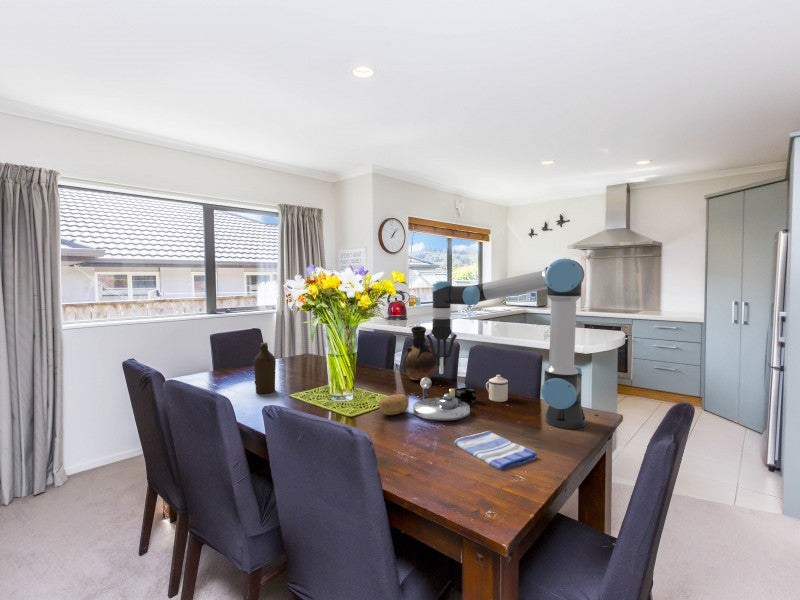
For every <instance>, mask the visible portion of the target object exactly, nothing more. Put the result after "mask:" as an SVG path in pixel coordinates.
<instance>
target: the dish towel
mask: <svg viewBox="0 0 800 600" xmlns="http://www.w3.org/2000/svg"><path fill="white" fill-rule="evenodd" d="M453 445H455V446H456V447H458V448H459V449H461V450H463V451H464V452H466V453H467V454H469V455H471V456H473V457H475V458H477V459H479V460H480V461H482V462H484V463H485V464H487V465H489V466H492V467H493V468H495V469H497V470H500V471H502V470H506V469H509V468H512V467H516V466H519V465H523V464H525V463H528V462H532V461H535V460H537V459H538V458H537V457H536V456H537V455H538V454H537V452H536V451H535V450H533V449H530V448H527V447H525V446H523V445H520V444H518V443H514V442H512V441H510V440H509V439H508V438H504V437H503V436H500V435H498V434H496V433H494V432H493V431H491V430H487V431H483V432H480V433H479V432H478V433H474V434H471V435H466V436H462V437H459V438H456V439H455V440H454V444H453Z"/></svg>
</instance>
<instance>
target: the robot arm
mask: <svg viewBox="0 0 800 600" xmlns="http://www.w3.org/2000/svg"><path fill="white" fill-rule="evenodd" d="M584 279H585V270H584V268H583V265H581V264H580V263H579V262H578V261H576V260H573V259H570V258H558V259H556V260H554V261H552V262H551V263H550V264H549V265H548V266H546V267H544V269H542V270H539V271H535V272H534V271H533V272H529V273H525V274H519V275H516V276H511V277H506V278H501V279H498V280H492V281H488V282H483V283H479V284H478V283H477V284H474V285H459V286H456V285H452V284H451V283H452V282H450V281H447V280H446V281H445V280H443V281H442V280H439V281H438V280H437V281H433V283H432V291H431V293H432V317H433V318H432V329H431V331H430V332H429V333H426V334H425V336H426V338H427V340H428V341H429V344H430V346H431V350H432V355H433V357H436V358H437V367H439V368H438V369H439V371H438V372H439V375H443V374H444V367H446V366H447V358H450V357H451V355H452V352H453V347H454V342H455V340H456V338H457V334H456V333H454V332H453V331H452V329H451V315H452V314H451V308H452V307H451V305H465V306H475V305H478V304H479V303H481V302H487V301H491V300H495V299H496V300H497V299H501V298H505V297H506V298H507V297H511V296H518V295H522V294H528V293H532V292H538V291H543V290H546V297H547V298H549V300H550V326H549V327H550V328H549V353H548V354H549V355H548V356H549V359H548V360H549V361H548V365H547V366H546V367H544V381H543V382H544V383H543V384H542V387H541V395H542V398H543V400H544V402H545V403H546V404H547V405H548V406H547V409H546V412H545V413H544V414H545V415H544V421H545V422H546V423H547V424H548V425H550V426H552V427H555V428H560V429H566V430H567V429H568V430H577V428H578V429H582V428H584V427H585V426H586V425H585V424H587V423H586V416H585V412H584V410H583V406H582V386H583V385H582V384H583V383H582V382H583V381H582V378H583V372H582V368H581V367H579V366H576V365H575V355H576V353H575V348H576V347H575V346H576V324H577V321H576V320H577V301H578V300H579V299H580V298H582V287H583V286H582V284H583V281H584ZM449 337H450V341H449V344H448V349H447V340H448V338H449ZM432 338H435V340H436V351H435V347H434V343H433V339H432ZM441 341H442V357H441ZM435 353H436V354H435ZM583 426H584V427H583ZM581 427H582V428H581Z"/></svg>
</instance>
